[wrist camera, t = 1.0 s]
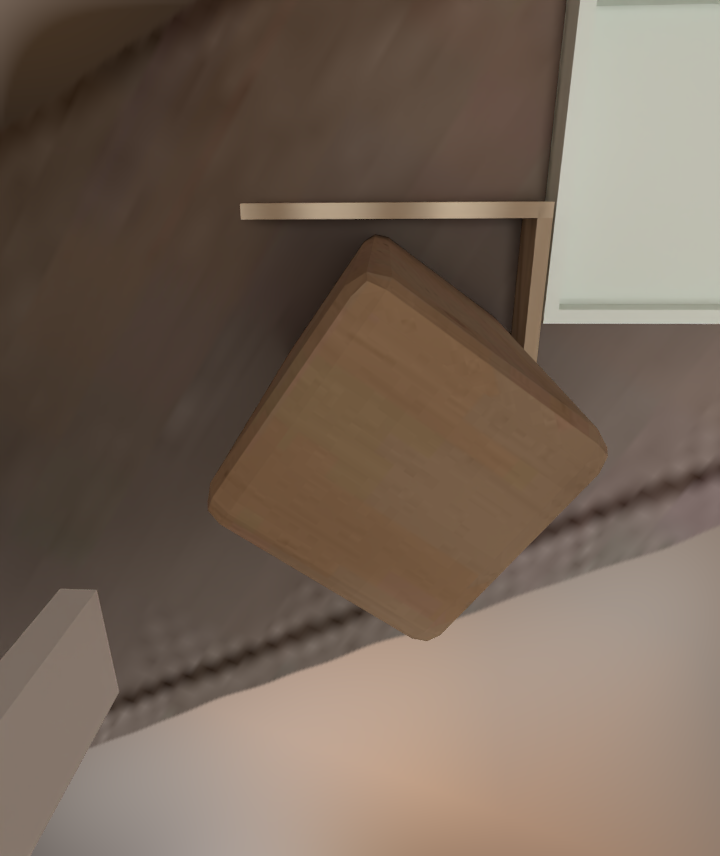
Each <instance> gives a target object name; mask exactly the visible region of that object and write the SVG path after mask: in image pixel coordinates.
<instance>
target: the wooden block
mask: <svg viewBox="0 0 720 856" xmlns="http://www.w3.org/2000/svg"><path fill="white" fill-rule="evenodd" d="M607 456H608V453H607V446H606V445H605V443H604V441H603V439H602V437H601V435H600V433H599V431H598V429H597V428H596V427H595V426H594V425H593V424H592V422H591V421H590V420H589V419H588V418H587V417H586V416H585V415H584V414H583V413H582V412H581V411H580V409H579V408H578V407H577V406H576V405H575V404H574V403H573V402H572V401H571V400H570V399H569V398H568V396H567V395H566V394H565V393H564V392H563V391H562V390H561V389H560V388H559V387H558V386H557V385H556V384H555V382H554V381H553V380H552V379H551V378H550V377H549V376H548V375H547V374H546V373H545V372H544V371H543V369H542V368H541V367H540V366H539V365H538V364H537V363H536V362H535V361H534V360H533V359H532V358H531V356H530V355H529V354H528V353H527V352H526V351H525V350H524V349H523V348H522V347H521V346H520V345H519V343H518V342H517V341H516V340H515V339H514V338H513V337H512V336H511V335H510V334H509V333H508V332H507V331H506V329H505V328H504V327H503V326H502V325H501V324H500V323H499V322H498V321H497V320H496V319H495V318H494V317H493V316H492V315H491V314H489V313H488V312H487V311H485V310H484V309H483V308H481V307H480V306H479V305H477V304H476V303H475V302H473V301H472V300H471V299H469V298H468V297H467V296H465V295H464V294H463V293H461V292H460V291H459V290H457V289H456V288H455V287H453V286H452V285H451V284H449V283H448V282H447V281H445V280H444V279H443V278H441V277H440V276H439V275H437V274H436V273H435V272H433V271H432V270H431V269H429V268H428V267H427V266H425V265H424V264H423V263H421V262H420V261H419V260H417V259H416V258H415V257H413V256H412V255H411V254H409V253H408V252H407V251H405V250H404V249H403V248H401V247H400V246H399V245H397V244H396V243H395V242H393V241H392V240H391V239H389V238H388V237H384V236H380V235H374V236H372V237H371V238H369V239H368V240H366V241H365V242H364V243H363V244H362V246H361V247H360V249H359V250H358V252H357V253H356V255H355V256H354V258H353V259H352V261H351V262H350V264H349V265H348V266H347V268H346V269H345V271H344V272H343V274H342V275H341V277H340V278H339V280H338V281H337V283H336V284H335V286H334V287H333V289H332V290H331V292H330V293H329V295H328V296H327V298H326V299H325V301H324V302H323V304H322V305H321V307H320V308H319V310H318V311H317V313H316V314H315V316H314V317H313V318H312V320H311V321H310V323H309V324H308V326H307V327H306V329H305V330H304V332H303V333H302V335H301V336H300V338H299V339H298V341H297V342H296V344H295V345H294V347H293V348H292V350H291V351H290V353H289V355H288V356H287V358H286V359H285V361H284V363H283V364H282V366H281V368H280V369H279V371H278V373H277V374H276V376H275V378H274V379H273V381H272V383H271V384H270V386H269V388H268V389H267V391H266V392H265V394H264V396H263V397H262V399H261V401H260V402H259V404H258V406H257V407H256V409H255V411H254V412H253V414H252V416H251V417H250V419H249V420H248V422H247V424H246V425H245V427H244V429H243V430H242V432H241V434H240V435H239V437H238V439H237V440H236V442H235V444H234V445H233V447H232V449H231V450H230V452H229V453H228V455H227V457H226V458H225V460H224V462H223V463H222V465H221V467H220V468H219V470H218V472H217V473H216V475H215V477H214V478H213V480H212V481H211V483H210V490H209V497H208V511H209V512H210V513H211V514H212V516H213V517H214V518H215V519H216V520H217V521H218V522H219V524H221V525H222V526H224V527H226V528H227V529H229V530H231V531H232V532H234V533H236V534H237V535H239V536H241V537H242V538H244V539H246V540H248V541H249V542H251V543H253V544H254V545H256V546H258V547H259V548H261V549H263V550H264V551H266V552H268V553H269V554H271V555H273V556H274V557H276V558H278V559H279V560H281V561H283V562H285V563H286V564H288V565H290V566H291V567H293V568H295V569H296V570H298V571H300V572H301V573H303V574H305V575H306V576H308V577H310V578H311V579H313V580H315V581H316V582H318V583H320V584H322V585H323V586H325V587H327V588H328V589H330V590H332V591H333V592H335V593H337V594H338V595H340V596H342V597H343V598H345V599H347V600H348V601H350V602H352V603H353V604H355V605H357V606H359V607H360V608H362V609H364V610H365V611H367V612H369V613H370V614H372V615H374V616H375V617H377V618H379V619H380V620H382V621H384V622H385V623H387V624H389V625H390V626H392V627H394V628H396V629H397V630H399V631H401V632H402V633H404V634H406V635H407V636H409V637H411V638H414V639H419V640H424V641H428V640H430V639H433V638H435V637H437V636H439V635H441V634H442V633H443V632H444V631H445V630H446V629H447V628H448V627H449V626H450V625H451V624H452V622H453V621H454V620H455V619H456V618H457V617H458V616H459V615H460V614H461V613H462V612H463V611H464V610H465V609H466V608H467V607H468V606H469V605H470V604H471V603H472V602H473V601H474V600H475V599H476V598H477V597H478V596H479V595H480V594H481V593H482V592H483V591H484V590H485V589H486V588H487V587H488V586H489V585H490V584H491V583H492V582H493V581H494V580H495V579H496V578H497V577H498V576H499V575H500V574H501V573H502V572H503V571H504V570H505V569H506V568H507V567H508V566H509V565H510V564H511V563H512V562H513V560H514V559H515V558H516V557H517V556H518V555H519V554H520V553H521V552H522V551H523V550H524V549H525V548H526V547H527V546H528V545H529V544H530V543H531V542H532V541H533V540H534V539H535V538H536V537H537V536H538V535H539V534H540V533H541V532H542V531H543V530H544V529H545V528H546V527H547V526H548V525H549V524H550V523H551V522H552V521H553V520H554V519H555V518H556V517H557V516H558V515H559V514H560V513H561V512H562V511H563V510H564V509H565V508H566V507H567V506H568V505H569V504H570V503H571V502H572V501H573V499H574V498H575V497H576V496H577V495H578V494H579V493H580V492H581V491H582V490H583V489H584V488H585V487H586V486H587V485H588V484H589V483H590V482H591V481H592V480H593V479H594V478H595V477H596V476H597V475H598V474H599V473H600V471H601V469H602V467H603V465H604V462H605V460H606V458H607Z"/></svg>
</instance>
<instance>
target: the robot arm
mask: <svg viewBox="0 0 720 856" xmlns="http://www.w3.org/2000/svg"><path fill="white" fill-rule="evenodd" d="M118 693H119V689H118V684H117V680H116V675H115V671H114V666H113V661H112V657H111V652H110V648H109V643H108V639H107V634H106V629H105V625H104V620H103V616H102V611H101V607H100V602H99V597H98V593H97V590H88V589H59V591H58V592H57V593H56V594H55V595H54V597H53V598H52V599H51V600H50V601H49V603H48V604H47V605H46V606H45V607H44V609H43V610H42V611H41V612H40V613H39V615H38V616H37V617H36V618H35V619H34V621H33V622H32V623H31V624H30V625H29V627H28V628H27V629H26V630H25V631H24V633H23V634H22V635H21V636H20V637H19V639H18V640H17V641H16V642H15V643H14V645H13V646H12V647H11V648H10V649H9V650H8V652H7V653H6V654H5V655H4V656H3V658H2V659H1V660H0V856H30V855H31V854H32V852H33V850H34V848H35V846H36V844H37V843H38V841H39V839H40V837H41V835H42V833H43V831H44V830H45V828H46V826H47V824H48V822H49V820H50V819H51V817H52V815H53V813H54V811H55V809H56V807H57V806H58V804H59V802H60V800H61V798H62V796H63V794H64V793H65V791H66V789H67V787H68V785H69V784H70V782H71V780H72V778H73V776H74V774H75V772H76V771H77V769H78V767H79V765H80V763H81V761H82V759H83V758H84V756H85V754H86V752H87V750H88V748H89V747H90V745H91V743H92V741H93V739H94V737H95V736H96V734H97V732H98V730H99V728H100V726H101V724H102V723H103V721H104V719H105V717H106V715H107V713H108V712H109V710H110V708H111V706H112V704H113V702H114V700H115V699H116V697H117V695H118Z"/></svg>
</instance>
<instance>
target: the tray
mask: <svg viewBox="0 0 720 856" xmlns="http://www.w3.org/2000/svg"><path fill="white" fill-rule="evenodd" d="M545 201H550V202H555V204H554V213H553V222H552V230H551V239H550V248H549V257H548V266H547V274H546V283H545V292H544V301H543V310H542V318H541V322H542V323H543V324H720V0H567V1H566V10H565V19H564V29H563V38H562V47H561V57H560V66H559V75H558V85H557V94H556V103H555V112H554V122H553V131H552V140H551V150H550V159H549V168H548V177H547V187H546V196H545Z"/></svg>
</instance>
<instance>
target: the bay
mask: <svg viewBox="0 0 720 856" xmlns="http://www.w3.org/2000/svg"><path fill="white" fill-rule="evenodd" d="M554 204H555V202H550V201H491V202H331V203H241V204H240V213H241V220H245V219H441V218H522V228H521V238H520V249H519V259H518V270H517V281H516V291H515V302H514V312H513V323H512V333H511V336H512V337H513V338H514V339H515V340H516V341H517V342H518V343H519V345H520V346H521V347H522V348H523V349H524V350H525V351H526V352H527V353H528V354H529V355H530V356H531V358H532V359H533V360H534V361H535V362H537V354H538V345H539V336H540V327H541V318H542V310H543V301H544V292H545V283H546V274H547V266H548V257H549V248H550V239H551V230H552V222H553V213H554Z"/></svg>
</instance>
